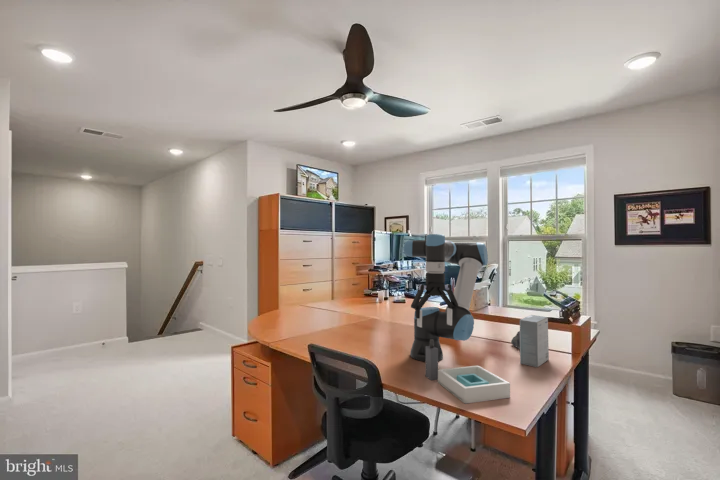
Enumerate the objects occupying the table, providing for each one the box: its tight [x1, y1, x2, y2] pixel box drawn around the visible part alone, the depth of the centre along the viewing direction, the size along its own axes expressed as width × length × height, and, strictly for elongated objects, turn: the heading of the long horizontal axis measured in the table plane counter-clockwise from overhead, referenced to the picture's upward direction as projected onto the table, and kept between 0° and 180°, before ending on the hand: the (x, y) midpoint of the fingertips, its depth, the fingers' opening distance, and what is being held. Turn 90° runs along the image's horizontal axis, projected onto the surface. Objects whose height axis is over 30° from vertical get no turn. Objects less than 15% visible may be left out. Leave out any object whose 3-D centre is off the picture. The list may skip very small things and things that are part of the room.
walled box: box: [437, 365, 511, 404], centre depth 123 cm, size 18×18×5 cm
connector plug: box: [425, 339, 439, 381], centre depth 134 cm, size 4×3×15 cm
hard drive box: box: [519, 314, 550, 368], centre depth 154 cm, size 16×8×20 cm, turn 134°
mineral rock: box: [510, 330, 520, 350], centre depth 175 cm, size 13×11×10 cm
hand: (434, 325), depth 134 cm, fingers open, 13 cm apart
